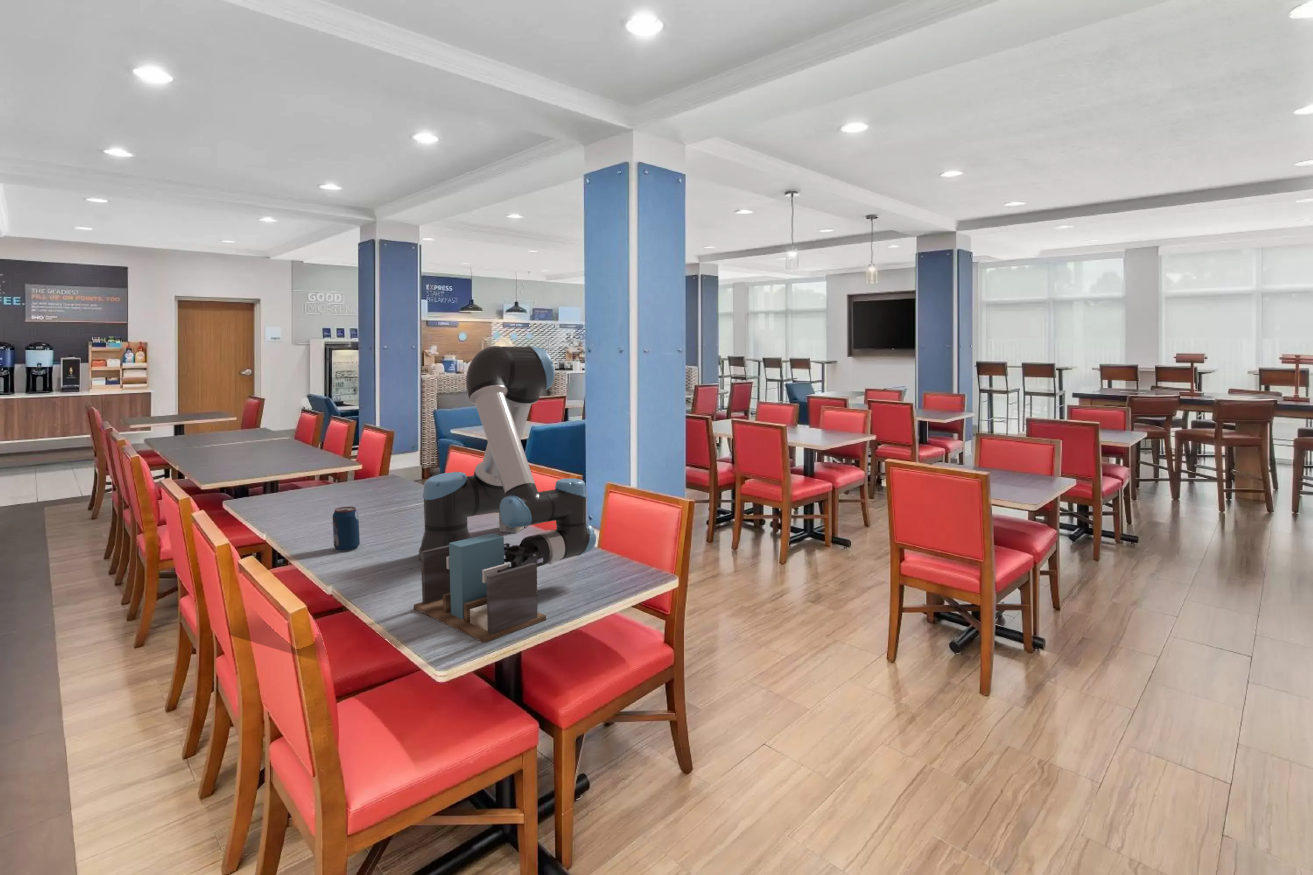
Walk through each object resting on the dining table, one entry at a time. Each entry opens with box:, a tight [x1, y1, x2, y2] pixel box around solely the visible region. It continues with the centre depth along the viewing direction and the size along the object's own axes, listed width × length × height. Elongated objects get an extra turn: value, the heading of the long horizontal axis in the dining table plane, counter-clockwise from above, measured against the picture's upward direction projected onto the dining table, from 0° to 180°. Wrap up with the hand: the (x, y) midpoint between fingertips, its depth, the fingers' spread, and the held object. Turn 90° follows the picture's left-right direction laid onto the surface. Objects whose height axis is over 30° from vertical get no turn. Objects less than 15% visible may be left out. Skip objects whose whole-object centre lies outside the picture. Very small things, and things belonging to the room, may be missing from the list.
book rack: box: [413, 545, 547, 643], centre depth 151 cm, size 27×16×13 cm, turn 49°
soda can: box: [332, 506, 361, 552], centre depth 200 cm, size 7×7×12 cm
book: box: [449, 533, 505, 619], centre depth 151 cm, size 4×11×16 cm, turn 139°
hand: (464, 569), depth 148 cm, fingers open, 13 cm apart
